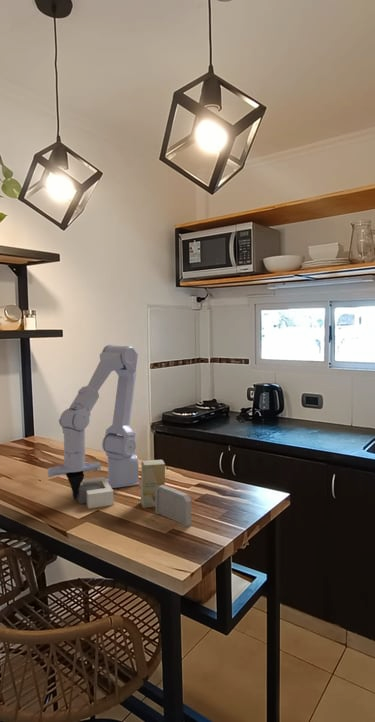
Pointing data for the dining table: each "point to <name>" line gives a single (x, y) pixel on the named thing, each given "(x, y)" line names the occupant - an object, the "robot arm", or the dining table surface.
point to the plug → (82, 492)
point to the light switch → (173, 504)
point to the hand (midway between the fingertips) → (74, 497)
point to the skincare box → (151, 480)
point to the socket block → (98, 493)
